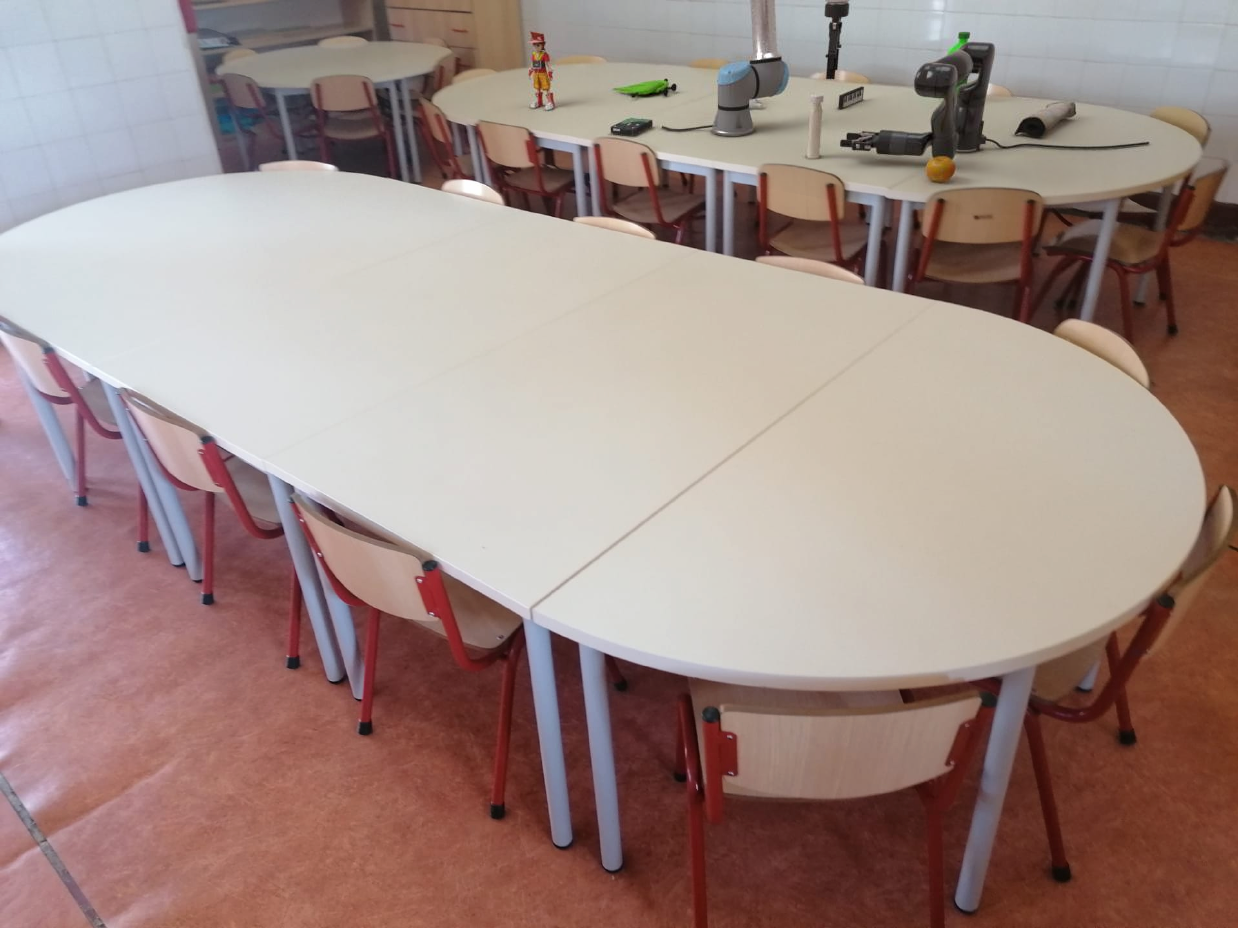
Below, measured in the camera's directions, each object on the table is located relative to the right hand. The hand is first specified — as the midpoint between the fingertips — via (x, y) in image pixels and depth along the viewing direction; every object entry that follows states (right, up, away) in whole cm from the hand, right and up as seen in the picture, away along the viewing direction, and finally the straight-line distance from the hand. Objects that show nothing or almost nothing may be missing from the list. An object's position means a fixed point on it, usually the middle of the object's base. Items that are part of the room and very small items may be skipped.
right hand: (843, 139), depth 298 cm
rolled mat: (+78, +12, +22) cm, 81 cm away
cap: (-10, +13, -4) cm, 16 cm away
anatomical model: (-23, +39, +69) cm, 83 cm away
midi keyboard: (+19, +37, +62) cm, 75 cm away
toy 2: (-65, +57, +99) cm, 132 cm away
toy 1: (-107, +45, +85) cm, 144 cm away
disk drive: (-70, +20, +47) cm, 87 cm away
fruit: (+25, -20, -20) cm, 37 cm away
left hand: (-5, +20, -3) cm, 21 cm away
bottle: (-8, -3, +7) cm, 12 cm away
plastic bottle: (+58, +35, +57) cm, 89 cm away
